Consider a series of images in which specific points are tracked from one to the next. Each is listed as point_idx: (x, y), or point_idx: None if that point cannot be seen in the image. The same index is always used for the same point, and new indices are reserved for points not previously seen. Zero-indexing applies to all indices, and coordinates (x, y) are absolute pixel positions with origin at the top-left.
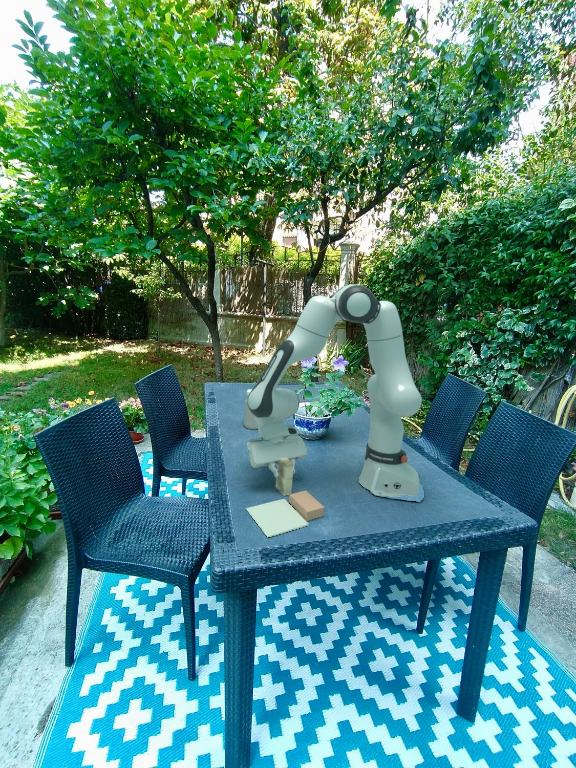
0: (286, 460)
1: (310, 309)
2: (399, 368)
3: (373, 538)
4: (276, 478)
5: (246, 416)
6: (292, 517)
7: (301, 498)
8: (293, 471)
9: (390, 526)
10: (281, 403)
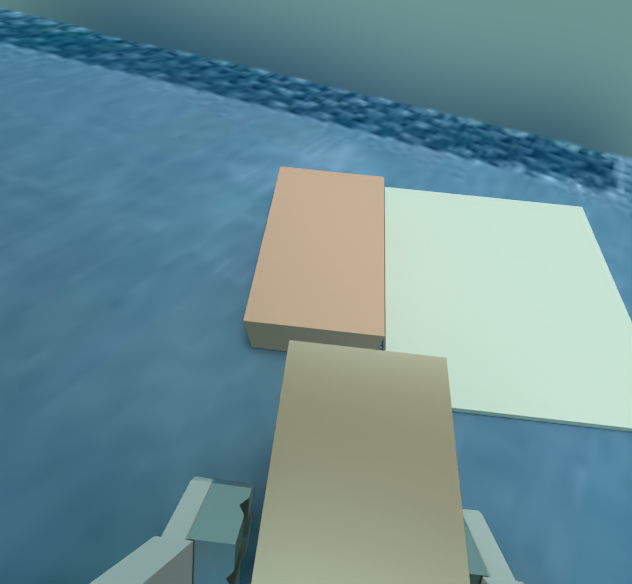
0: (349, 564)
1: None
2: None
3: (230, 84)
4: None
5: None
6: (429, 243)
7: (337, 265)
8: (217, 484)
9: (127, 86)
10: None
